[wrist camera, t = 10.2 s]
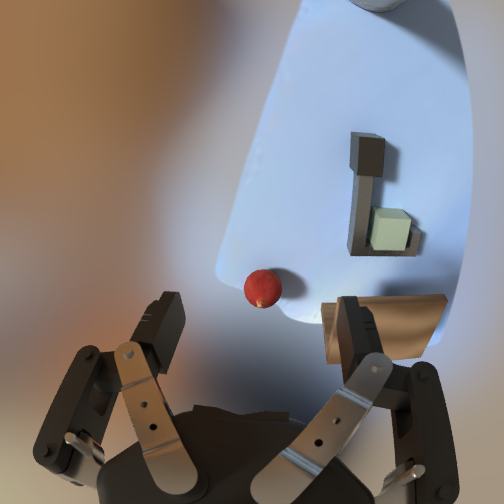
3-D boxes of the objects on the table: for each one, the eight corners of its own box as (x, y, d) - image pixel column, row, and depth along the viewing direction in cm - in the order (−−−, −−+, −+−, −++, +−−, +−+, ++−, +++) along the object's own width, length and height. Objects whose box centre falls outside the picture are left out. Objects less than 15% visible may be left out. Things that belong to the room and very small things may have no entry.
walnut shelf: (327, 251, 44) (339, 305, 33) (417, 252, 42) (447, 300, 31) (320, 309, 50) (326, 364, 39) (401, 307, 48) (420, 357, 37)
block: (372, 206, 39) (379, 218, 36) (401, 208, 39) (411, 219, 35) (367, 236, 42) (374, 249, 38) (396, 237, 41) (404, 250, 38)
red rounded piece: (289, 273, 47) (289, 305, 40) (267, 293, 49) (264, 326, 42) (261, 253, 45) (256, 284, 38) (240, 276, 48) (232, 308, 41)
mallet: (350, 131, 34) (359, 136, 30) (426, 140, 33) (440, 146, 29) (342, 245, 43) (347, 261, 39) (409, 246, 42) (418, 261, 38)
